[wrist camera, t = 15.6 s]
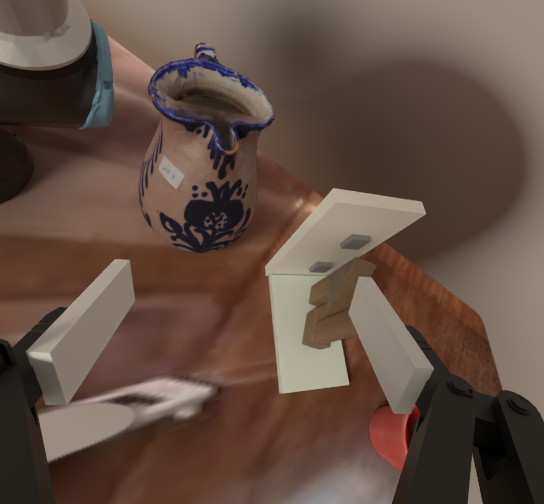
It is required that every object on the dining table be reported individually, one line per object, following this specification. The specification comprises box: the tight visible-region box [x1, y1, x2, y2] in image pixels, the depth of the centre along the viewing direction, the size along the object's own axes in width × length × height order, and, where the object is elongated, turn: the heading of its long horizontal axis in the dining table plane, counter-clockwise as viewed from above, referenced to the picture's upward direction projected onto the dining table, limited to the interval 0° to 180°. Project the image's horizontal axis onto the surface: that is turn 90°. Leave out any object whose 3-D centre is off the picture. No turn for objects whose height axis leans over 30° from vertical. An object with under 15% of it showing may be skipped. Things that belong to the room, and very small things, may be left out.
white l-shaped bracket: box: [265, 188, 426, 393], centre depth 39 cm, size 21×13×24 cm, turn 6°
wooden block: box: [302, 257, 377, 350], centre depth 42 cm, size 4×11×18 cm, turn 167°
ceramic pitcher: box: [138, 43, 274, 253], centre depth 40 cm, size 18×21×25 cm
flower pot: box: [369, 405, 420, 472], centre depth 42 cm, size 11×11×10 cm
